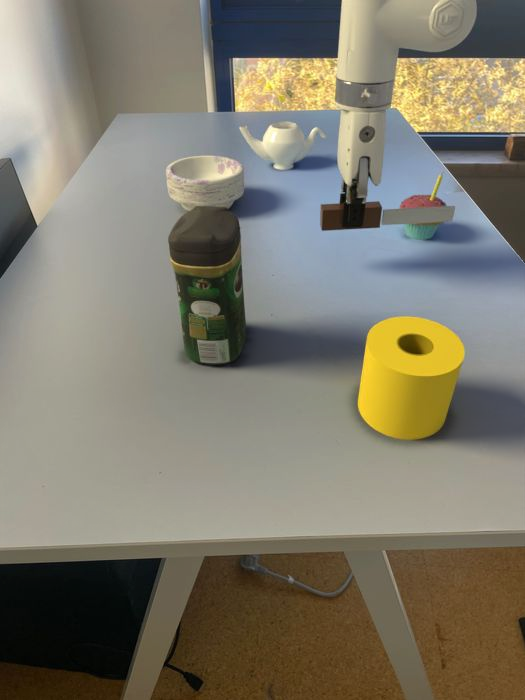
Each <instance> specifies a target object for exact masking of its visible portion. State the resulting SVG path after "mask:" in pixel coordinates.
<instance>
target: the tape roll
mask: <svg viewBox="0 0 525 700" xmlns="http://www.w3.org/2000/svg"><path fill="white" fill-rule="evenodd" d="M465 356H466V351H465V346H464V344H463V342H462V340H461V339H460V337H459V336H458V335H457V334H456V333H455V332H454V331H453V330H451V329H450V328H448V327H447V326H445V325H443V324H441V323H439V322H436V321H434V320H431V319H427V318H423V317H418V316H395V317H390V318H389V317H388V318H386V319H383V320H381V321H378V322H376V324H374V325H373V326H372V327H371V328H370V329H369V331H368V333H367V335H366V341H365V350H364V355H363V363H362V368H361V369H362V370H361V371H362V372H361V376H360V384H359V390H358V398H357V407H358V408H357V409H358V412H359V414H360V415H361V417H362V419H363V420H364V421H365V422H366V424H368V425H369V426H370V427H372V429H374V430H375V431H376V432H379V433H381V434H383V435H384V436H386V437H390V438H394V439H398V440H404V441H405V440H406V441H409V440H410V441H413V440H421V439H425V438H428V437H430V436H433V435H434V434H436V433H437V432H439V431H440V429H441V428H442V427H443V426H444V424H445V422H446V419H447V415H448V412H449V409H450V405H451V401H452V398H453V396H454V392H455V388H456V385H457V383H458V379H459V375H460V372H461V369H462V366H463V361H464V359H465Z"/></svg>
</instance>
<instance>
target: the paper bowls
mask: <svg viewBox="0 0 525 700" xmlns="http://www.w3.org/2000/svg"><path fill="white" fill-rule="evenodd" d="M244 170H245V169H244V166H243V165H242V162H239V161H238V160H236V159H233V158H230V157H227V156H222V155H221V156H220V155H208V154H207V155H195V156H188V157H183V158H179V159H176V160H175V161H173V162H171V163H170V164H168V165H167V167H166V168H165V176H166V186H167V191H168V196H169V197H170V198H171V199H172V200H174V201H175V202H177V203H179V204H180V205H181V207H182V208H183V209H184V210H186V211H187V212H189V211H190V210H192V209H193V208H194V207H195V206H214V207H226V208H228V209H230V208H231V207H232V205H233V204H234V203H235V201H236V200H238V199H239V198H241V197H242V196H243V195H244V192H245V171H244Z"/></svg>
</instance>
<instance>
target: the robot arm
mask: <svg viewBox="0 0 525 700" xmlns="http://www.w3.org/2000/svg"><path fill="white" fill-rule="evenodd" d="M340 6H341V7H340V21H339V22H340V23H339V35H338V49H337V61H336V62H337V63H336V77H335V91H334V106H335V107H336V108H339V109H340V110H341V111H340V120H339V129H338V137H337V138H338V140H337V154H336V155H337V157H336V158H337V160H336V161H337V167H338V169H339V172H340V175H341V185H340V186H341V187H340V191H341V193H340V194H339V203H343V214H342V227H343V228H357V227H362V226H363V221H364V213H365V205H366V202H367V198H368V190H369V189H368V187H369V186H368V185H369V180H370V181H371V183H372V185H374V186H375V187H378V186H379V185H380V184H381V183H382V176H383V166H384V165H383V164H384V154H385V143H386V125H387V115H386V114H387V112H386V111H387V110H388V109H390V108H391V107H392V103H393V96H394V88H395V80H396V79H395V78H396V73H397V65H398V59H399V51H400V50H399V49H405V50H406V49H408V50H412V51H413V50H414V51H420V52H427V53H441V52H445V51H448V50H451V49H453V48H455V47H457V46H458V45H459V44H461V43H462V42H463V41H464V40H465V39H466V38H467V36H469V34H470V33H471V31H472V29H473V27H474V25H475V23H476V19H477V12H478V11H477V10H478V7H477V0H341V5H340Z"/></svg>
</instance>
